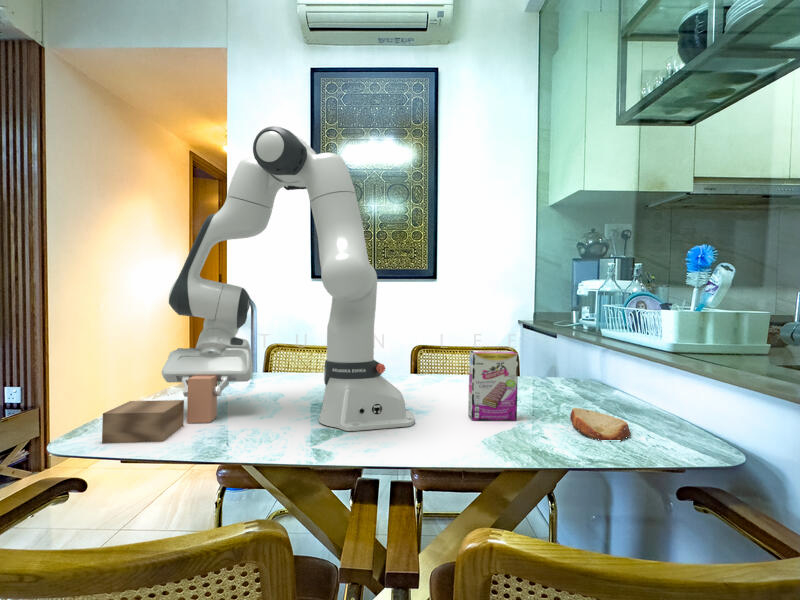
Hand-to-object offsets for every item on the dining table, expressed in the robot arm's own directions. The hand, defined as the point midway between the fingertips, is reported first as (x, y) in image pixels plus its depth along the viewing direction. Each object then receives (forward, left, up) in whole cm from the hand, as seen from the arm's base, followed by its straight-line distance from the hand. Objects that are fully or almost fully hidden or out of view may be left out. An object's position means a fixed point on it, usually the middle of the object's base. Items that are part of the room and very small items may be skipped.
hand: (201, 395), depth 99 cm
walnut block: (+8, +9, -6) cm, 14 cm away
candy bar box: (-69, +4, -6) cm, 69 cm away
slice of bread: (-89, +13, -7) cm, 90 cm away
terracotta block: (0, -1, -6) cm, 6 cm away
